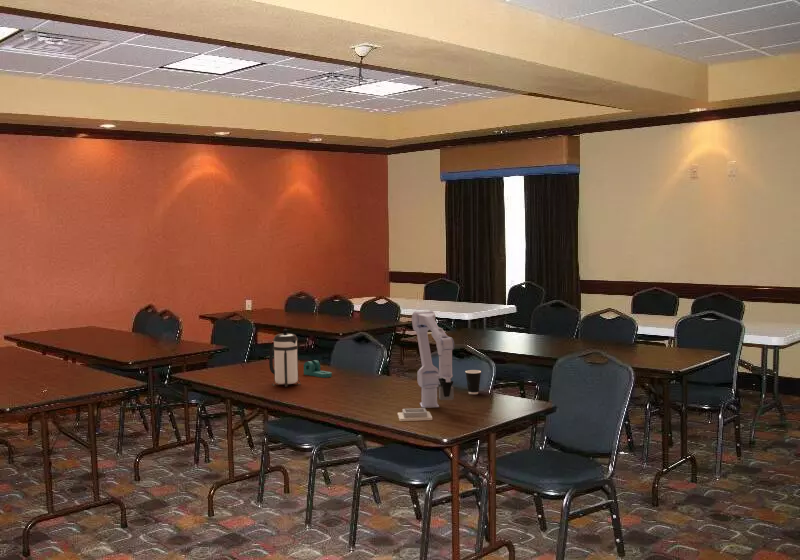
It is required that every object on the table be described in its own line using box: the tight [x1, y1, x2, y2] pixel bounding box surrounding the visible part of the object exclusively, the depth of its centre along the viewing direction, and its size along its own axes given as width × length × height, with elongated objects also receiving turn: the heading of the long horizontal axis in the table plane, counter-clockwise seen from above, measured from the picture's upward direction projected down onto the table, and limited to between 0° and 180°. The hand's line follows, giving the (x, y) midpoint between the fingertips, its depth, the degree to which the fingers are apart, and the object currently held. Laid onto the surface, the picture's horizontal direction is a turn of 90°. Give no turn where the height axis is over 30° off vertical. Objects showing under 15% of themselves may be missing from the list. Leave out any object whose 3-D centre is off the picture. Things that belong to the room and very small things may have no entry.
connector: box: [438, 386, 455, 401], centre depth 357 cm, size 4×6×5 cm, turn 96°
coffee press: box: [268, 328, 301, 388], centre depth 430 cm, size 17×16×30 cm
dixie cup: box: [464, 369, 482, 395], centre depth 401 cm, size 8×8×11 cm
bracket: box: [303, 359, 333, 379], centre depth 457 cm, size 18×7×8 cm, turn 48°
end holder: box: [397, 407, 433, 422], centre depth 353 cm, size 12×14×3 cm
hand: (445, 395), depth 358 cm, fingers closed on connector, 4 cm apart
